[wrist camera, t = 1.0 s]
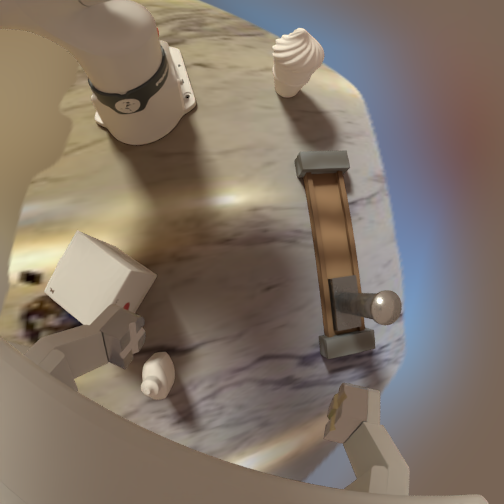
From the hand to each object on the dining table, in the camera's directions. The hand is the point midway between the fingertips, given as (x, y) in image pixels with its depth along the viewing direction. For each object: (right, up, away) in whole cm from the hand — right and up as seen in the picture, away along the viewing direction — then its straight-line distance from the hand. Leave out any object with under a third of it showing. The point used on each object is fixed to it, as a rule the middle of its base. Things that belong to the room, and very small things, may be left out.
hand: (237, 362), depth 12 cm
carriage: (+15, -4, +37) cm, 40 cm away
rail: (+14, +4, +39) cm, 42 cm away
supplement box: (-20, -1, +36) cm, 41 cm away
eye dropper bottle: (-13, -14, +35) cm, 40 cm away
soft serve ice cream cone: (+7, +34, +42) cm, 55 cm away
